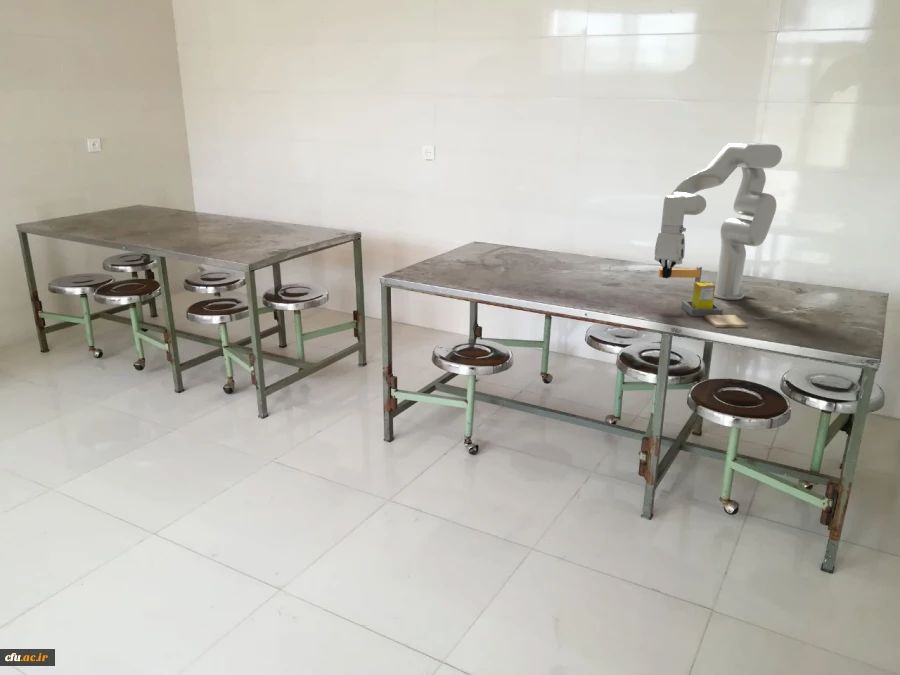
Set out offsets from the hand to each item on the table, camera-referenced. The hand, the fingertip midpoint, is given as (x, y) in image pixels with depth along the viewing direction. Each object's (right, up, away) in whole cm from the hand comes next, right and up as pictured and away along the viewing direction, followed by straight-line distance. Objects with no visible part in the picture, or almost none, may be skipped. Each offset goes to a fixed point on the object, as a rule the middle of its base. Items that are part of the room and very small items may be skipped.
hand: (666, 277), depth 255 cm
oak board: (+17, -17, -12) cm, 27 cm away
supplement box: (+13, -13, 0) cm, 19 cm away
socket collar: (+13, -13, 0) cm, 18 cm away
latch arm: (+6, -10, +7) cm, 14 cm away
